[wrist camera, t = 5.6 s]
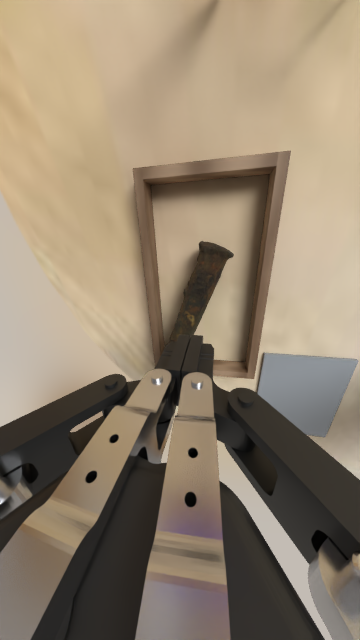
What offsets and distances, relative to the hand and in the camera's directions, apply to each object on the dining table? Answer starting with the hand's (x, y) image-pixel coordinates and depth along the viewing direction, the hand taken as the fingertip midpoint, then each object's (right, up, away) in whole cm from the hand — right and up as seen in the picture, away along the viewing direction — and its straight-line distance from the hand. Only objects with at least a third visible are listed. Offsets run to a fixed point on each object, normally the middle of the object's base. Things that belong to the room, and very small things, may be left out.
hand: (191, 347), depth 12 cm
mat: (+18, -11, +18) cm, 28 cm away
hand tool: (+3, +8, +16) cm, 18 cm away
